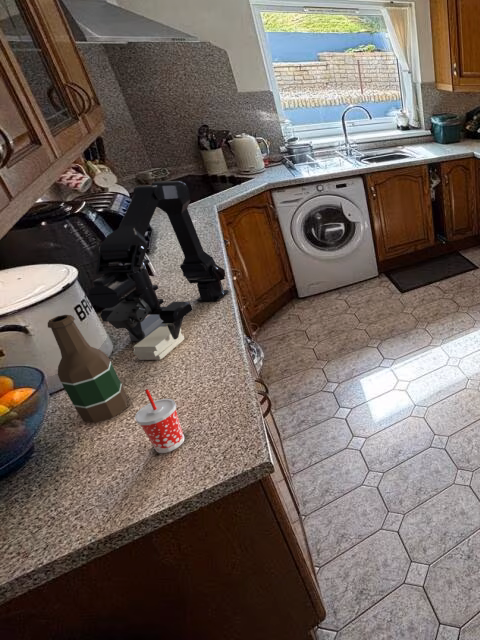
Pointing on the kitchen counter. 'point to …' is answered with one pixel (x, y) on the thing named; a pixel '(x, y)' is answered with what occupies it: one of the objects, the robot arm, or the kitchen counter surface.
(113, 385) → the beer bottle
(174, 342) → the cream flat block
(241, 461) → the kitchen counter surface
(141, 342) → the white book
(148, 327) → the dark grey rectangular block
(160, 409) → the beverage cup
